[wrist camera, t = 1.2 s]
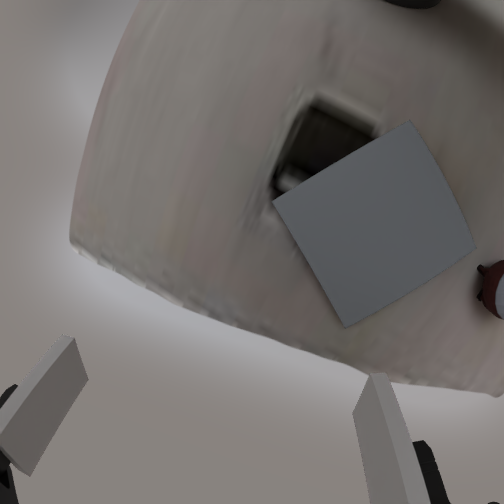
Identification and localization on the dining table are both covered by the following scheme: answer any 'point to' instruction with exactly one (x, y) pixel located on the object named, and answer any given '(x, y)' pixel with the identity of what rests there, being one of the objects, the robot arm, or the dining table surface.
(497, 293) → the mate gourd
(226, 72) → the dining table surface
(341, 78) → the dining table surface
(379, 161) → the riser
